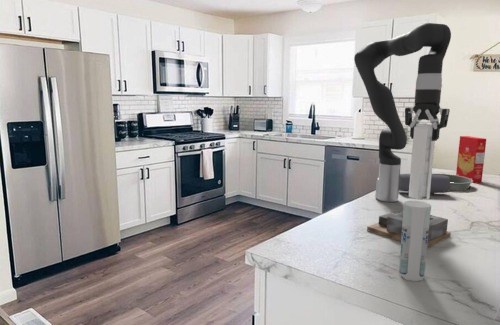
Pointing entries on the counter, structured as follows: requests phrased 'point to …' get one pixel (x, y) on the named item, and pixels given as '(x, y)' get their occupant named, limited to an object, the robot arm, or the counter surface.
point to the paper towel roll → (421, 162)
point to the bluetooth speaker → (437, 183)
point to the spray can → (414, 239)
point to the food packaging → (471, 158)
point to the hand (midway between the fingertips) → (423, 139)
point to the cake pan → (458, 182)
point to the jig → (393, 228)
